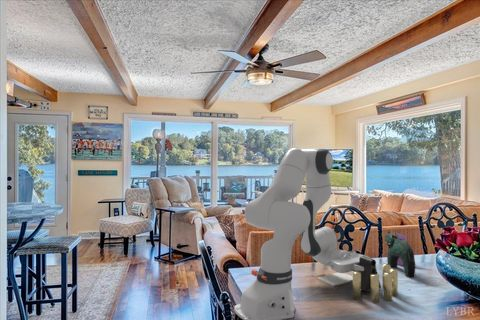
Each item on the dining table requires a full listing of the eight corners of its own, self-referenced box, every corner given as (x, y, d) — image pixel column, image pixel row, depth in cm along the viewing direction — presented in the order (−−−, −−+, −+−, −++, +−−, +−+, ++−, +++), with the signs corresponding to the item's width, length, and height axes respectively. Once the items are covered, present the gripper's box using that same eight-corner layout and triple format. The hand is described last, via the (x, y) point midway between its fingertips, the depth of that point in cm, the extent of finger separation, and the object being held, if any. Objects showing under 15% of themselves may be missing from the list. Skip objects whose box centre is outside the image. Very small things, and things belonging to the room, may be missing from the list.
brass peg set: (373, 307, 117) (373, 280, 117) (351, 297, 125) (351, 272, 125) (407, 294, 128) (407, 269, 128) (385, 286, 137) (385, 263, 137)
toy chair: (393, 264, 167) (393, 236, 167) (389, 259, 175) (389, 232, 176) (410, 265, 165) (410, 237, 165) (405, 260, 174) (405, 233, 174)
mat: (333, 286, 137) (333, 284, 137) (316, 278, 145) (316, 277, 145) (358, 279, 145) (358, 278, 145) (340, 272, 153) (340, 271, 154)
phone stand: (364, 291, 126) (365, 261, 127) (353, 286, 132) (354, 257, 132) (381, 288, 130) (381, 258, 130) (369, 283, 136) (369, 254, 136)
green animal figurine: (383, 264, 167) (383, 226, 167) (395, 264, 167) (395, 226, 167) (406, 278, 147) (406, 235, 147) (419, 278, 147) (419, 234, 148)
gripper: (324, 256, 138) (350, 265, 126) (355, 250, 148) (382, 258, 137) (324, 270, 138) (350, 281, 126) (355, 264, 148) (382, 272, 137)
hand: (367, 269), depth 131 cm, fingers closed on phone stand
